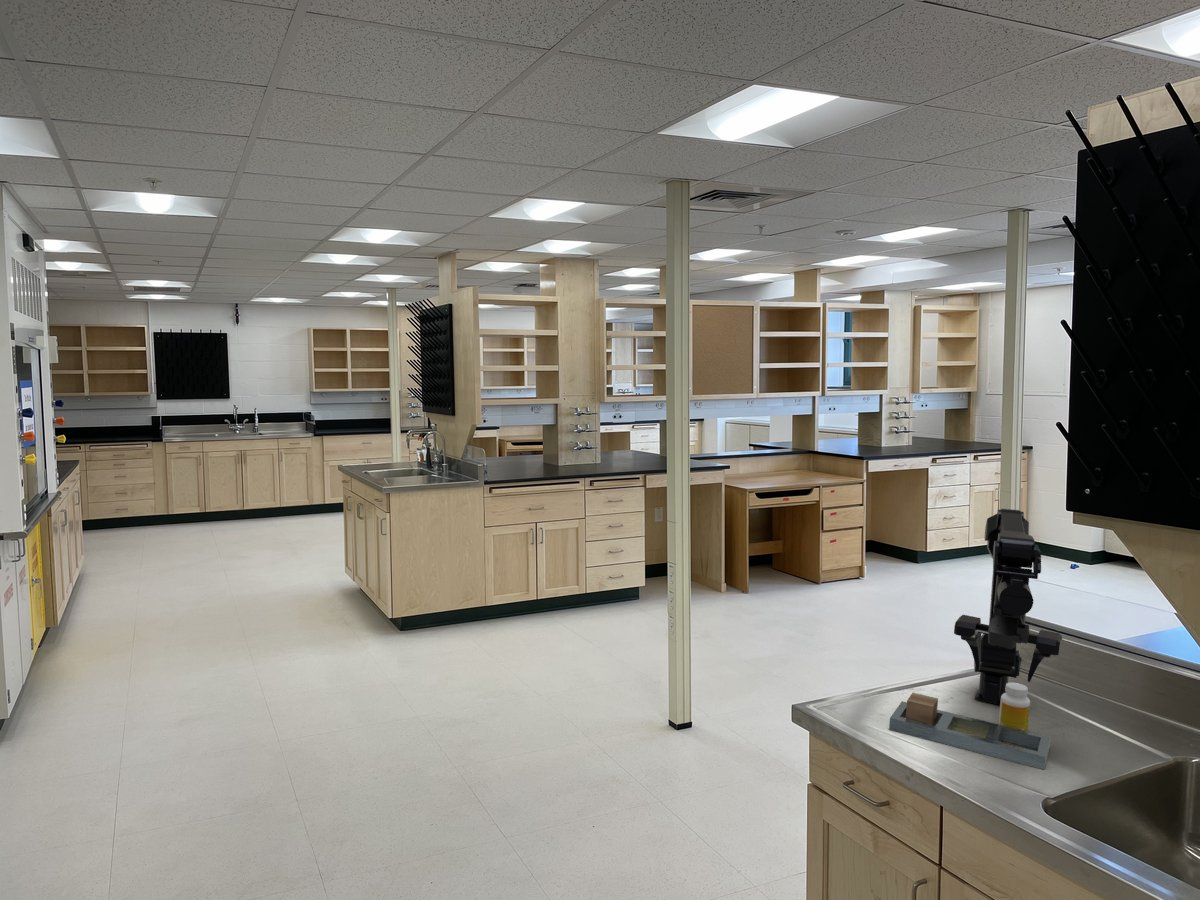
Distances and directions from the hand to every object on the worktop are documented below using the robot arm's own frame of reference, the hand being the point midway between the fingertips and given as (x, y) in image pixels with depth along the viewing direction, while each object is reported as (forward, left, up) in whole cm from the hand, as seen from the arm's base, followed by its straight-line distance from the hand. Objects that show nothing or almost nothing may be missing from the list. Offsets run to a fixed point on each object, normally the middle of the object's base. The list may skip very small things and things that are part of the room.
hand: (1003, 675), depth 171 cm
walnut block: (+5, -14, -13) cm, 19 cm away
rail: (+5, -5, -13) cm, 14 cm away
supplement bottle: (-4, +2, -13) cm, 14 cm away
